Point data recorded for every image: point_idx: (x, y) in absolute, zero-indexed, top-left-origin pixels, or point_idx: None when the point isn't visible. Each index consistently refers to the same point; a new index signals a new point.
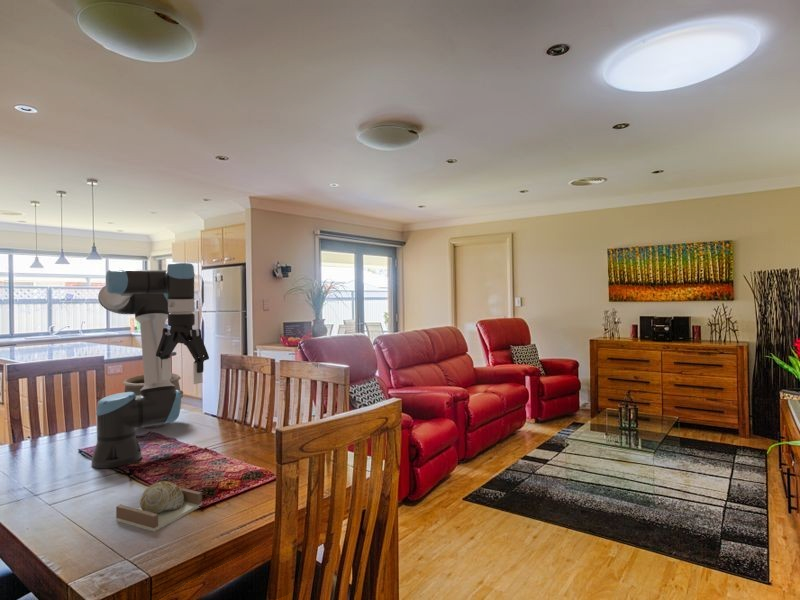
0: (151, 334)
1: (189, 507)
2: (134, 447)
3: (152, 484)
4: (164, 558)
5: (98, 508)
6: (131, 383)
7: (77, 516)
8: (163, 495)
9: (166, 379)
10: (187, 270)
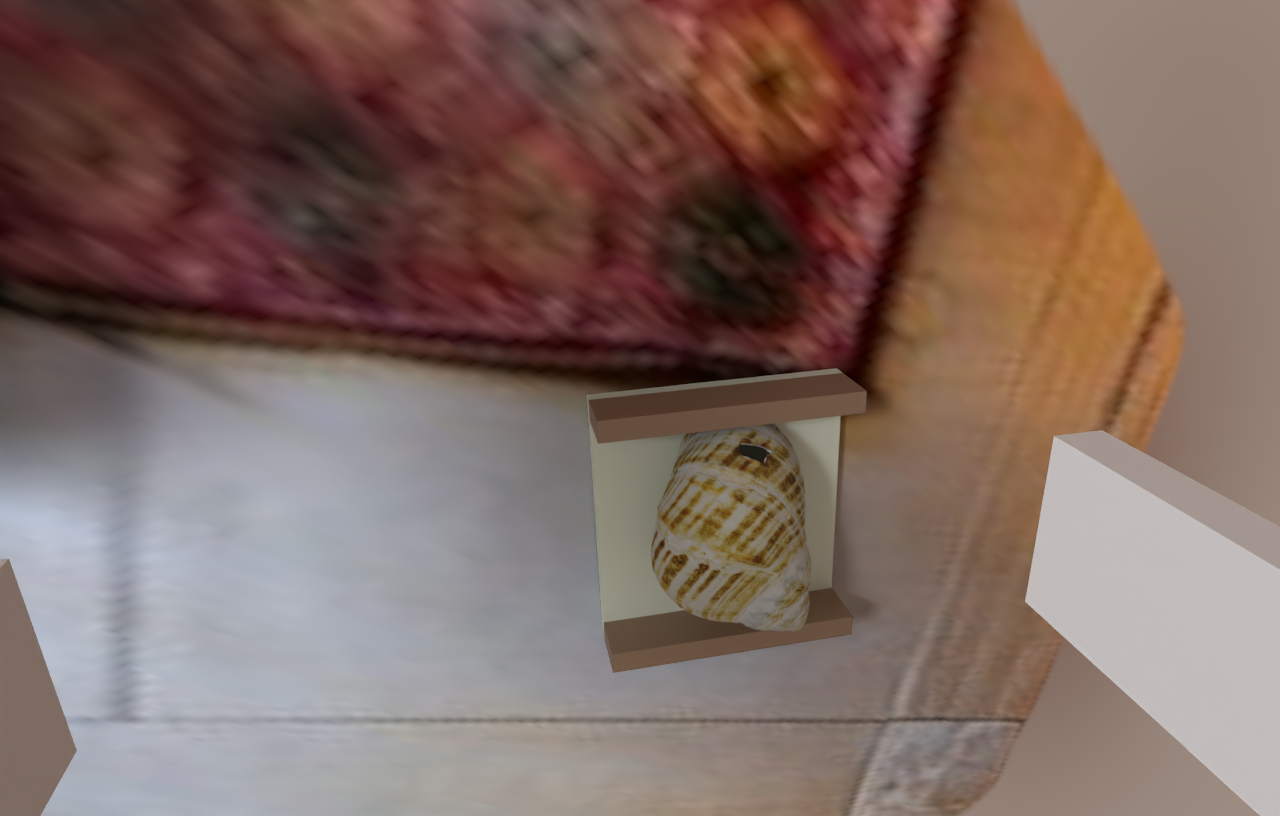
0: None
1: (822, 430)
2: None
3: (706, 585)
4: (995, 661)
5: (397, 619)
6: None
7: (399, 696)
8: (809, 578)
9: (51, 695)
10: None
